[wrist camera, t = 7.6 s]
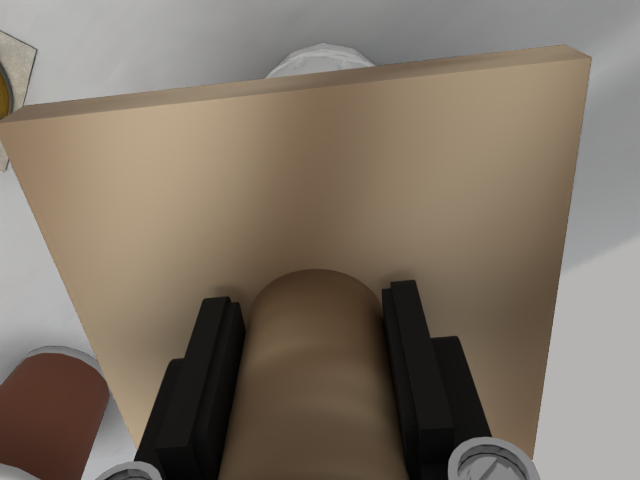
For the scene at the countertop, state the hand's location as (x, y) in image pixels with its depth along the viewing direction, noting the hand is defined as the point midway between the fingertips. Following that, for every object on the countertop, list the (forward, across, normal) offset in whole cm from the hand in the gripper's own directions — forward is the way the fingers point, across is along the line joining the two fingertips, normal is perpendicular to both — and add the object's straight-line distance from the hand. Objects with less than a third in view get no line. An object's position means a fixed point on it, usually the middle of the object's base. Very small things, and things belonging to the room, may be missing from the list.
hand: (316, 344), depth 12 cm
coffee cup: (+18, +20, +17) cm, 31 cm away
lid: (+2, 0, 0) cm, 2 cm away
